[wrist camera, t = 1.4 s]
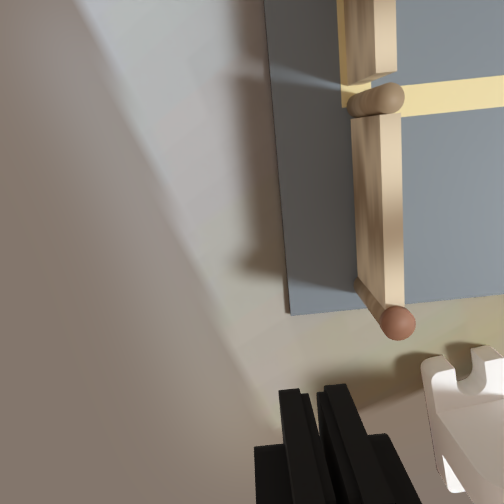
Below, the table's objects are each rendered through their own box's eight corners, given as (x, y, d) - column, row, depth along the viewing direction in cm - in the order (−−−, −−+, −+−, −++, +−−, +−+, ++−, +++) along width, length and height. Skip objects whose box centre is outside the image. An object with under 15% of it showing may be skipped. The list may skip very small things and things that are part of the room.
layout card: (254, -115, 25) (254, -118, 25) (584, -149, 25) (589, -153, 25) (290, 314, 31) (291, 316, 31) (555, 287, 31) (558, 288, 31)
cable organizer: (493, 343, 32) (601, 432, 23) (507, 460, 35) (610, 587, 25) (418, 359, 32) (494, 455, 23) (437, 475, 35) (513, 607, 25)
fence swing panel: (343, 94, 27) (374, 82, 21) (372, 91, 27) (412, 78, 21) (353, 298, 30) (383, 342, 24) (379, 295, 30) (415, 338, 24)
